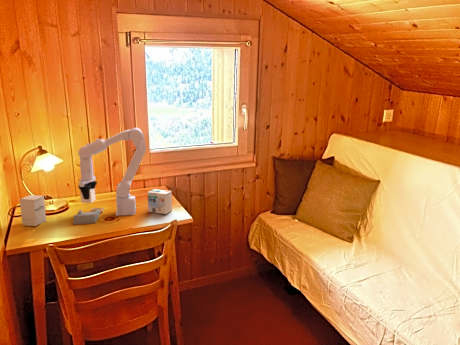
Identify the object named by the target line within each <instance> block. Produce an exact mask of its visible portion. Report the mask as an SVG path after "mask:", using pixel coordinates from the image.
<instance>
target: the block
mask: <svg viewBox="0 0 460 345" xmlns="http://www.w3.org/2000/svg"><path fill="white" fill-rule="evenodd" d="M95 190H96V189H90V191H89V199H84V197H83V195H82V192H81V190H80V203H81V204H92V203H93V202H95V201H96V191H95Z"/></svg>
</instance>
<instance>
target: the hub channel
mask: <svg viewBox="0 0 460 345" xmlns="http://www.w3.org/2000/svg"><path fill="white" fill-rule="evenodd" d="M100 214H101V213H100V212H99V209H97V210H96V212H90V211H87V212H83V210H82V209H80V210H78V212H77V214H73V222H72V224H73V225H83V224H87V225H88V224H96V223H97V221H98V220H99V217H100Z"/></svg>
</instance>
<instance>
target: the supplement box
mask: <svg viewBox="0 0 460 345" xmlns="http://www.w3.org/2000/svg"><path fill="white" fill-rule="evenodd" d="M19 205H20V213H21V214H20V215H21V216H20V217H21V223H22V224H21V225H23V226H29V227H30V226H31V227H37V226H39V225H40V224H42V223H44V222H47V216H46V214H47V213H46V204H45V196H44V195H35V194H30V195H28V196H24V197H22V198H19Z"/></svg>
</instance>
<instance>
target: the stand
mask: <svg viewBox="0 0 460 345" xmlns="http://www.w3.org/2000/svg"><path fill="white" fill-rule="evenodd" d="M97 209H99V212H100V214H102V213H103V212H104V210H105V207H93V208H91V210H90V211H89V212H96V210H97Z"/></svg>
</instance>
